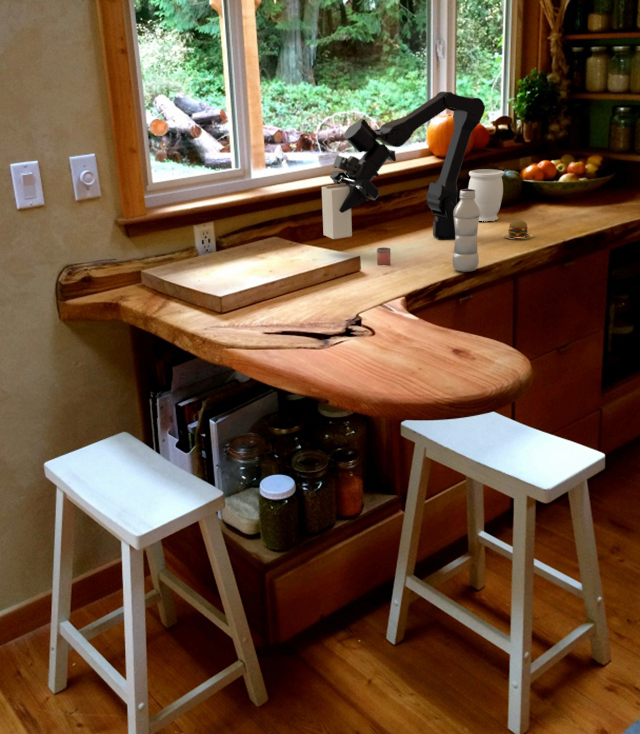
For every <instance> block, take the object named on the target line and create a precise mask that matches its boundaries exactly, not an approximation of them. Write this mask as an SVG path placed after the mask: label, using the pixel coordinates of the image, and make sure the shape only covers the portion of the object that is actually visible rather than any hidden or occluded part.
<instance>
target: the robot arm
mask: <svg viewBox="0 0 640 734" xmlns="http://www.w3.org/2000/svg"><path fill="white" fill-rule="evenodd" d="M446 110H449V111H452V112H453V113H452V114H453V115H452V119H453V126H454V127H453V131H452V135H451V139H450V142H449V145H448V148H447V152H446V155H445V159H444V161H443V165H442V168H441V172H440V175H439V178H438V180H436V182H435V183H434V182H430V184H429V186H428V191H427V193H426V195H425V197H426V204H427V205H428V208H430V210H431V211H430V212H431V214H432V215H434V220H433V222H432V235H433V237H434V238H436V239H437V240H439V241H441V240H452V239H453V240H455V224H454V215H453V212H454V208H455V207H456V205H457V204H458V202H457V199H458V195H459V194H458V187H457V186H458V185H457V182H458V178H459V173H460V171H461V167H462V164H463V162H464V157H465V154H466V151H467V148H468V145H469V141H470V138H471V135H472V132H473V131H474V129H475V128H476V127H477V126H478V125H479V124H480V122H481V120H482V118H483V116H484V114H485V111H486V105H485V103H484V101H483V99H481V98H479V97H473V96H472V97H470V96H461V95H458V94H456V93H453V92H452V91H440V92H437V93H436V95H434V96H433V97H432V98H431V99H428V101H426V102H425V103H423V104H421V105H420V106H418V107H417V108H415V109H414V110H412V111H411V112H409V113H408V114H407V115H406V114H405V116H403V117H400V118H396V119H392V120H390V121H388V122H386V123H384V124H382V125H381V126H380V127H379V128H377V129H373V128H372V127H371V126H370V125H369V123H368V122H367V120H365V119H364V118H360V119H359V120H357V122H354V123H353V124H352V125H350V126H349V127H348V128H347V129H346V131H345V132H344V139H346V141H348V143H349V144H350V145H352V147H353V148H355V150H356V151H357V152H358V153H363V152H364V154H363V155H362V157H361V158H360V159H359V158H358V157H355V156H353V155H350V156H349V157H344V156H341V155H336V157H335V159H334V163H333V165H332V167H333V168H335V169H340V170H341V171H340V170H334V171H333V172H332V173H331V174H330V175H329V177H330V179H331V180H332V182H333V183H334V184H333V185H336V184H344V183H345V184H346V187H350V193H349V194H348V196H347V198H346V199H345V201H344V202H343V204H342V206H341V208H340V209H339V211H340V212H341V213H343V212H345V211H347V210H349V209H351V210H352V208H354V207H355V208H356V206H359V205H360V204H362V203H364V202H366V201H367V202H368V201H370V200H372V201H376V199H378V197H379V196H380V188H378V187H377V186H376V185H375V184H374V183H373V182H372V180H373V179H374V178H378V177H379V176H380V174H379V173H378V172H379V171H380V169H382V167H383V165H384V164H385V163H386V161H391V162H396V160H397V158H396V150H392V149H389V147H394V148H399V147H402V146H403V145H405V143H407V141H409V139H411V138H412V136H413V134H414V133H415V131H416V130H417V129H419V128H421V126H423V125H425V124H426V123H428V122H429V121H431V120H432V119H434V118H435V117H437V116H438V115H440V114H441V113H443V112H444V111H446ZM379 142H380V143H381V144H380V143H379ZM388 146H389V147H388ZM343 171H344V172H343Z"/></svg>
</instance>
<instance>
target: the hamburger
mask: <svg viewBox="0 0 640 734" xmlns="http://www.w3.org/2000/svg"><path fill="white" fill-rule="evenodd" d="M528 227H529V226H528V224H527V222H526V221H524V220H523V219H516V220H513V221H511V222H510V223H509V227H508V230H506V231H508V232H507V233H509V235H508V236H509V237H510V236H511V237H524V236H526V235H527V234H528V233H529V231H528ZM527 236H528V235H527ZM527 236H526V237H527ZM511 237H510V238H511Z"/></svg>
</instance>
